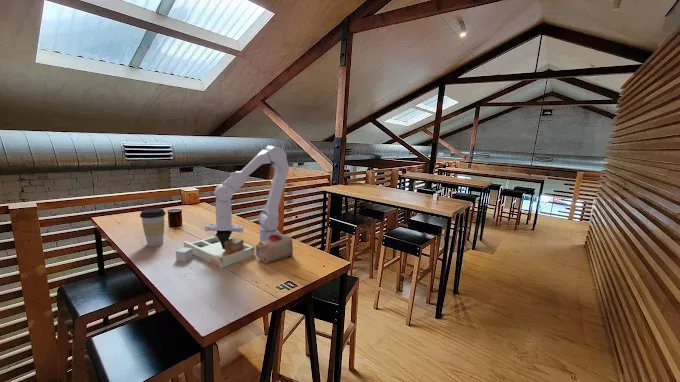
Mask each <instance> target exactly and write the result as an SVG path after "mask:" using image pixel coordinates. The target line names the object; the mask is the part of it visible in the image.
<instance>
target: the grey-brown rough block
mask: <svg viewBox="0 0 680 382" xmlns="http://www.w3.org/2000/svg"><path fill="white" fill-rule="evenodd" d="M293 249H294V248H293V239H292V237H290V236H289V235H288V234H287V235H286V234H284V235H283V234H282V236H278V235H273V234H271V236H270V237H269V239H266V240H263V241H260V240H259V241H258V243H257V244H256V245H255V252H256V253H255V255H256V257H257V258H258V259H259V260H260V261H262V262H263V263H264V264H266V265H268V264H271V263H273V262H276V261H279V260H282V259H286V257H287V258H289V256H290V257H292V255H293V256H294V254H293V253H294V250H293Z"/></svg>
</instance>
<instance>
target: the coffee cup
mask: <svg viewBox="0 0 680 382" xmlns="http://www.w3.org/2000/svg"><path fill="white" fill-rule="evenodd" d="M166 214H167V213H166V211H165V210H164V208H161V207H152V208H151V207H150V208H145V209H143V210H141V212H140V213H139V218H141V221H142V227H143V233H144V236H145V240H146V244H147V246H148V247H158V246H161V245H163V244H164V234H165V216H166Z"/></svg>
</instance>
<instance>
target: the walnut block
mask: <svg viewBox="0 0 680 382" xmlns="http://www.w3.org/2000/svg"><path fill="white" fill-rule="evenodd" d="M230 238H231V239H229V240H227V241H225V254H229V255H230V254H233V253H236V252H239V251H241V250H243V243H244V239H243V238H237V237H230Z"/></svg>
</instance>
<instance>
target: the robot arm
mask: <svg viewBox="0 0 680 382" xmlns="http://www.w3.org/2000/svg"><path fill="white" fill-rule="evenodd" d="M287 156H288V155H287V153H286V151H285V150H284V149H283V148H282V147H279V146H274V145H271V144H270V145H267V146H266V147H264V149H262V150H260V151H259V152H258V153H257V154H256V156H254V157H253V158H252V160H250V161H249V162H248V164H246V165H245V166H244V167H243V168H242V169H241V170H236V171H234V172H233V171H232V172H230V176H229V177H228V178H226V179H225V180H224V181H222V182H221V183H220V185H217V186H216V187H215V189H214V191H213V194H214V197H215V222H216V223H215V224H206V225H205V226H204V231H205V232H208V231H213V232H215V233H216V236H217V237H218V239H219V240H220V243H221V245H222V249H225V241H227V240H229V238H231V235H232V233H233V232H235V233H243V232H244V226H243V225H242V226H240V225H235V224H233V223H232V222H233V221H232V217H233V216H232V200H231V199H232V198H233V195H234V194H235V193H236V192H238V190H239V189H241V187H243V186H244V185H245V184H246V183H247V179H248V177H249V176H250V175H252V173H253V172H255V171H256V170H257V169H258V168H259V167H261V166H262V165H266V164H271V166H272V167H273V168H274V170H275V171H274V174H273V178H272V183H271V185H270V188H269V193H268V197H267V201H266V203H265V206H264V207H263V208H262V211H261V212H260V213H259V215H258V217H257V218H258V223H259V224H260V226H259V242H260V241H263V240H266V239H269V237H270V236H271V234H273V235H278V236H283V234H282V233H281V232H280V231H279V230H278V227H279V223H280V221H279V216H280V213H279V206H280V203H281V200H282V195H283V192H284V190H285V189H284V188H285V185H286V181H287V177H288V173H289V170H290V167H289V164H288V157H287Z"/></svg>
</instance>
